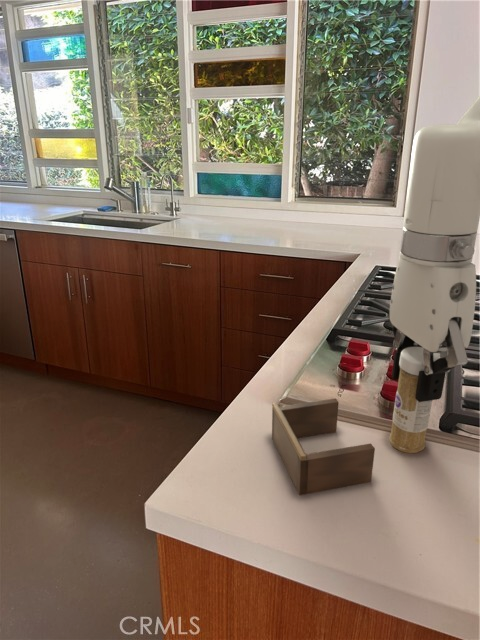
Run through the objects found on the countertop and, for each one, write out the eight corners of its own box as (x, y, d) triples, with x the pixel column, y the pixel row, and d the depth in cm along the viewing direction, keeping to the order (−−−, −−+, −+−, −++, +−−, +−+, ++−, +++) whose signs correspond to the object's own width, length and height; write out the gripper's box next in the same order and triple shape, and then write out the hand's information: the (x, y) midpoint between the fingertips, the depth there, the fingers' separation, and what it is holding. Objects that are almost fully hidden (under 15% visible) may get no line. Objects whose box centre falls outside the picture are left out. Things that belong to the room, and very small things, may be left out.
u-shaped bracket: (333, 428, 65) (336, 394, 63) (371, 482, 55) (375, 444, 53) (271, 438, 63) (272, 403, 61) (299, 496, 53) (300, 456, 51)
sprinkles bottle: (382, 437, 63) (393, 348, 58) (410, 430, 64) (423, 342, 59) (403, 458, 59) (417, 364, 54) (433, 450, 60) (449, 358, 55)
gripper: (525, 262, 44) (488, 422, 51) (422, 228, 59) (405, 355, 66) (456, 268, 43) (428, 432, 50) (369, 232, 58) (357, 361, 65)
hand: (415, 386), depth 58 cm, fingers closed on sprinkles bottle, 4 cm apart
